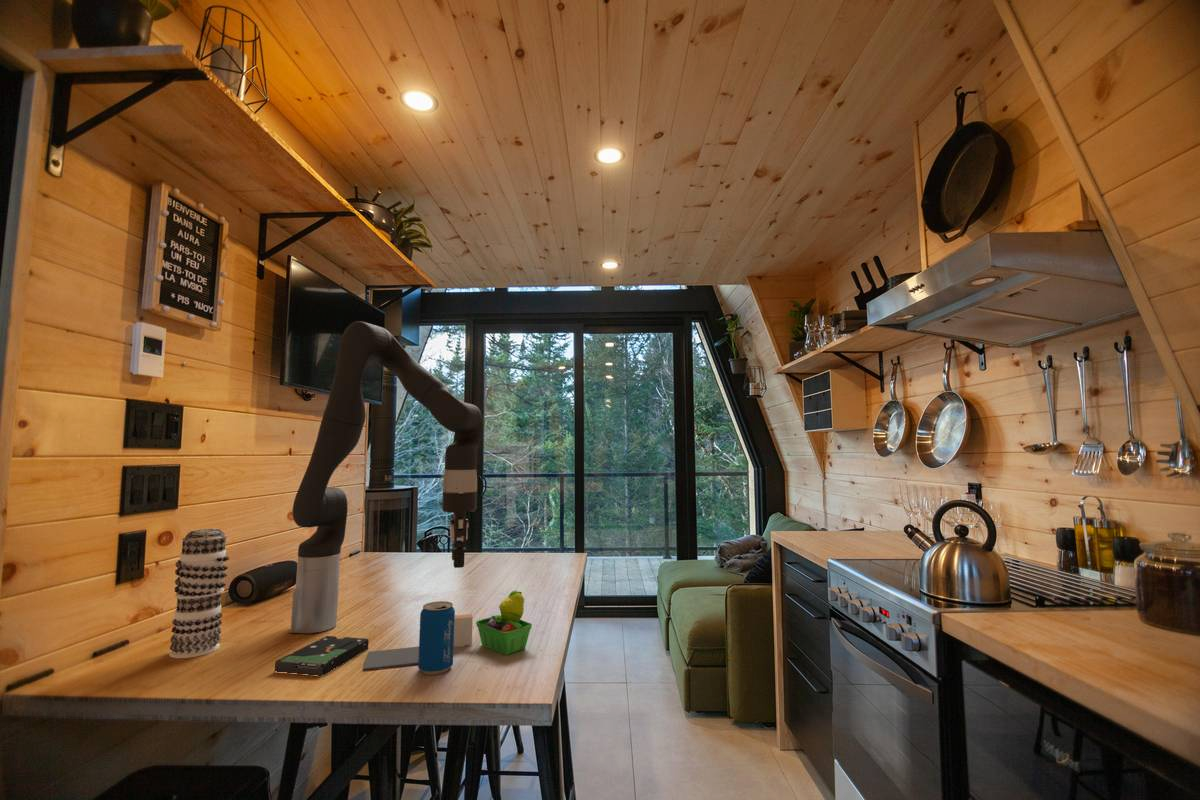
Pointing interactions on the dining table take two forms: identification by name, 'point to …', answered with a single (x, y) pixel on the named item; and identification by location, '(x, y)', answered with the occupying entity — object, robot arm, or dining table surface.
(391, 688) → the dining table surface
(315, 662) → the disk drive
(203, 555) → the decorative candle
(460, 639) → the tile
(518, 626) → the fruit basket
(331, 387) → the robot arm
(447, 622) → the beverage can
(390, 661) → the mat
